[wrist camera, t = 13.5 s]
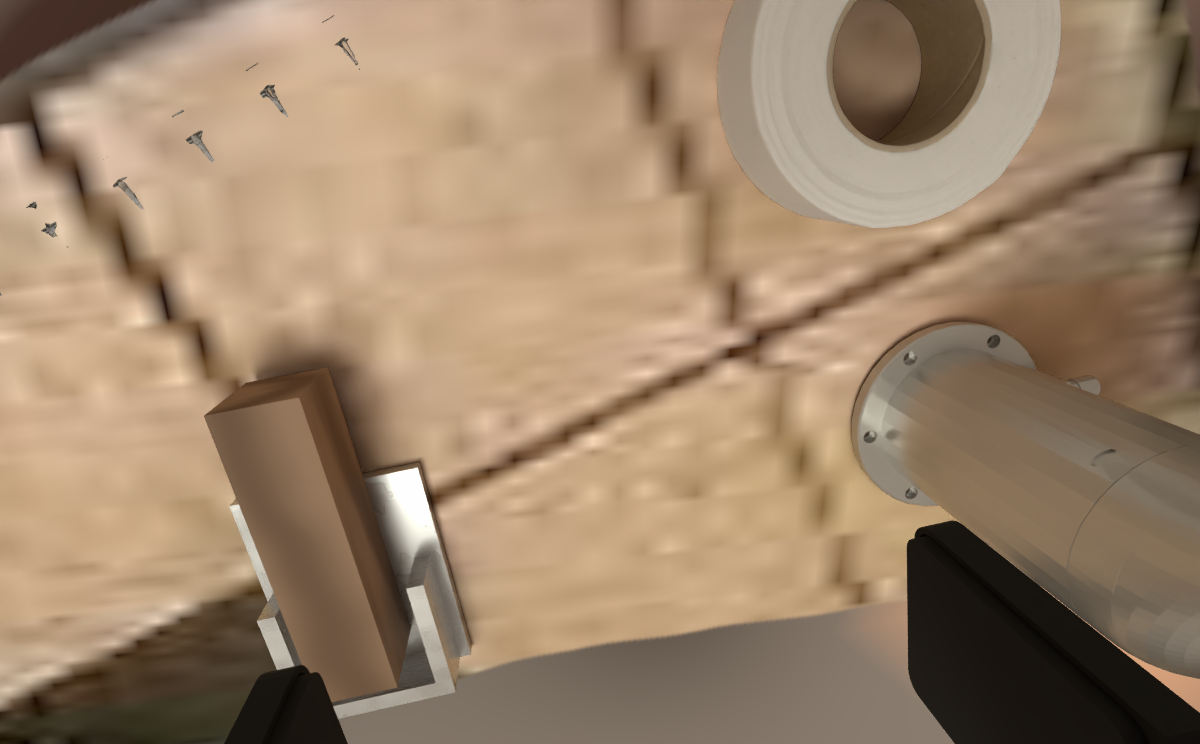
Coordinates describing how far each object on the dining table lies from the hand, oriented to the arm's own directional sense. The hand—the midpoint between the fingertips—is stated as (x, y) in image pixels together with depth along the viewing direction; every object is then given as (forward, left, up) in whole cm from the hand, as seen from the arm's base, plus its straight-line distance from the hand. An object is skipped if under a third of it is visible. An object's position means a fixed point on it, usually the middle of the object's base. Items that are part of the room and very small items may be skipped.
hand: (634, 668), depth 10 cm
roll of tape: (-19, -9, -29) cm, 36 cm away
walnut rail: (+15, +10, -28) cm, 33 cm away
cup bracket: (+15, +15, -28) cm, 35 cm away
